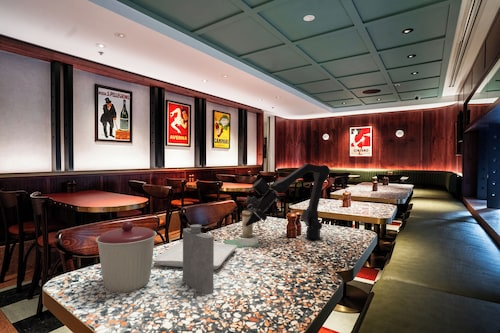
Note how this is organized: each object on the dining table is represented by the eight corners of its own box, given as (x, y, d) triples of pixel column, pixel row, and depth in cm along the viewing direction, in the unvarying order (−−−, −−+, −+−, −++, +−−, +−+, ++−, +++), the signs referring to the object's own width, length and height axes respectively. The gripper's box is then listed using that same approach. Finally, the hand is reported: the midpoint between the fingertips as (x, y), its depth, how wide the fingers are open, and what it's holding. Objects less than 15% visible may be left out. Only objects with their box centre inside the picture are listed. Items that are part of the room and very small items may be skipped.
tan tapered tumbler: (253, 236, 140) (253, 210, 140) (252, 239, 135) (252, 212, 135) (243, 235, 141) (242, 210, 141) (241, 238, 136) (241, 212, 136)
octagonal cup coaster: (251, 237, 148) (251, 231, 148) (264, 245, 135) (264, 238, 134) (219, 242, 140) (219, 235, 140) (229, 250, 127) (229, 242, 127)
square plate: (219, 275, 99) (219, 264, 99) (149, 269, 105) (149, 259, 105) (237, 252, 126) (237, 243, 126) (181, 248, 131) (181, 240, 131)
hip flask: (215, 293, 85) (215, 228, 85) (204, 297, 83) (204, 230, 82) (189, 277, 97) (189, 220, 97) (178, 280, 94) (178, 221, 94)
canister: (82, 299, 82) (82, 227, 81) (114, 274, 100) (114, 215, 99) (143, 300, 81) (143, 228, 81) (164, 275, 99) (164, 216, 99)
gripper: (250, 188, 148) (230, 210, 145) (260, 192, 130) (237, 217, 127) (265, 202, 150) (245, 224, 147) (276, 208, 132) (253, 233, 129)
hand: (244, 224), depth 138 cm, fingers closed on tan tapered tumbler, 5 cm apart
